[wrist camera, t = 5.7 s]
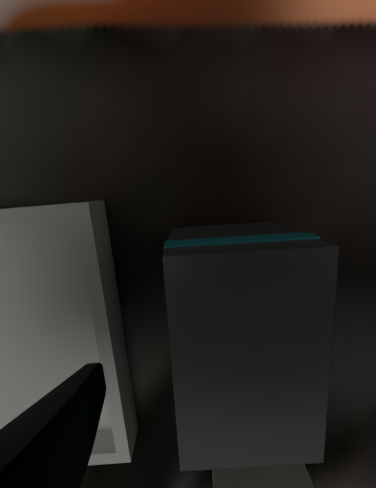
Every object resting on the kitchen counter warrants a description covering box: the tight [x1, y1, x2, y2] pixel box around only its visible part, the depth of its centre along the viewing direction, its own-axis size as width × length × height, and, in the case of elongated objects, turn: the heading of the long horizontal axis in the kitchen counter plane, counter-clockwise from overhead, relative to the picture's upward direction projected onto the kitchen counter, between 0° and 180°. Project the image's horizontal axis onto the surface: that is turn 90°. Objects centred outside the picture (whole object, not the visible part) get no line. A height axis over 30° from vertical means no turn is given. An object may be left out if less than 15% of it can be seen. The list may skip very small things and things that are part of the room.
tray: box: [0, 200, 138, 465], centre depth 11 cm, size 10×12×2 cm
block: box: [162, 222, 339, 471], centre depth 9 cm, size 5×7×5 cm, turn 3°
